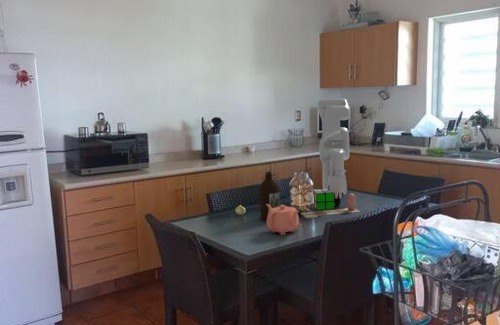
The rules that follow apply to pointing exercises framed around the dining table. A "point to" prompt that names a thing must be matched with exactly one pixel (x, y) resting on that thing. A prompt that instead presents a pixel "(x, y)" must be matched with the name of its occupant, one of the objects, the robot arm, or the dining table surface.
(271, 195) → the olive oil
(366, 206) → the dining table surface
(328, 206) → the puzzle cube
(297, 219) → the teapot
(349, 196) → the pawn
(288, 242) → the dining table surface
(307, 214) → the board
